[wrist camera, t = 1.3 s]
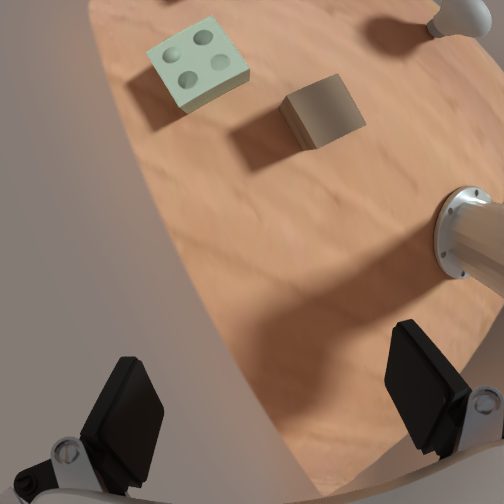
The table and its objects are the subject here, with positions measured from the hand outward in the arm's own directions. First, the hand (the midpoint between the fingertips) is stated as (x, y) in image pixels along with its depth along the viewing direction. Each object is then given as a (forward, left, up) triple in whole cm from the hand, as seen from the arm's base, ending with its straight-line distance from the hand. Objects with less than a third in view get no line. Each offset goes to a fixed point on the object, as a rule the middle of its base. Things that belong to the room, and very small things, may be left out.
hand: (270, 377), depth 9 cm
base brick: (-4, -17, -21) cm, 28 cm away
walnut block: (-11, -7, -21) cm, 25 cm away
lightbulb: (-33, -12, -21) cm, 41 cm away
